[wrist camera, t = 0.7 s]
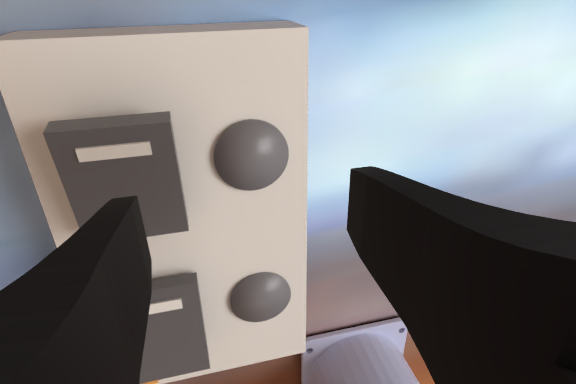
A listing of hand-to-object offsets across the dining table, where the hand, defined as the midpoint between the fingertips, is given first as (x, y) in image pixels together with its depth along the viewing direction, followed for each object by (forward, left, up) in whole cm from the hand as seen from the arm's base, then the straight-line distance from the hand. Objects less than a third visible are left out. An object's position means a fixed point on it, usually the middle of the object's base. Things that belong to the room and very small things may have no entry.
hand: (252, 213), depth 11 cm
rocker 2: (-9, +4, -6) cm, 11 cm away
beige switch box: (-5, +2, -9) cm, 11 cm away
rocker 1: (-1, +4, -6) cm, 7 cm away
